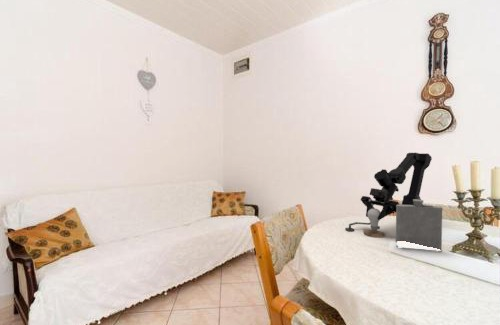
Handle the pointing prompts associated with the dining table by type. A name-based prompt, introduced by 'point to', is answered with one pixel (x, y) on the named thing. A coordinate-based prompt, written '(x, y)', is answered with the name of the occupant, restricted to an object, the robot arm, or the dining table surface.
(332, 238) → the dining table surface
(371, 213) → the lightbulb
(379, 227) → the grey metal bracket
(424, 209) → the hip flask
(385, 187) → the robot arm
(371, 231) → the walnut coaster
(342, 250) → the dining table surface
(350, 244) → the dining table surface
